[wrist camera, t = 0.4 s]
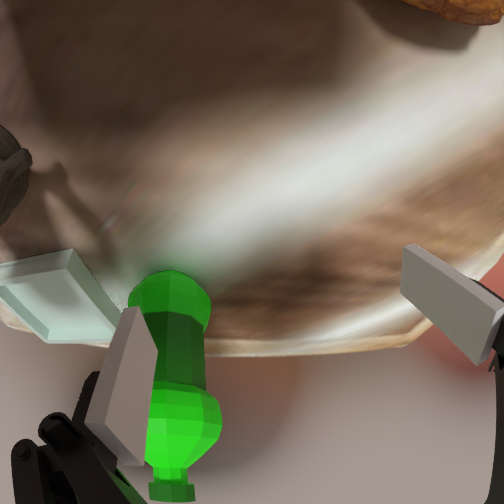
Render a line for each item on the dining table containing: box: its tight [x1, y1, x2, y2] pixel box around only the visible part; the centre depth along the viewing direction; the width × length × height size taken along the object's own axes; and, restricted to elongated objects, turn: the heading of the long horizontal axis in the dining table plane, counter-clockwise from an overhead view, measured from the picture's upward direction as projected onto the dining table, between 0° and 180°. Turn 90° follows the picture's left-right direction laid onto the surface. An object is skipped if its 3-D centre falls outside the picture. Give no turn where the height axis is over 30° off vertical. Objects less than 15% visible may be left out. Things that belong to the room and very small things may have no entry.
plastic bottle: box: [128, 270, 222, 502], centre depth 27 cm, size 10×10×25 cm
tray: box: [0, 248, 122, 343], centre depth 34 cm, size 17×17×3 cm
